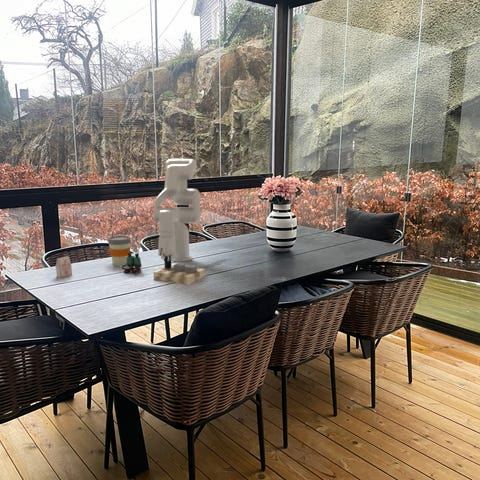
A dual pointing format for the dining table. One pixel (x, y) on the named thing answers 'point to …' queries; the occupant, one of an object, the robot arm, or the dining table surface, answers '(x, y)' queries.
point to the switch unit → (179, 276)
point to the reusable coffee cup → (119, 249)
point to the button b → (179, 267)
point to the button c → (191, 269)
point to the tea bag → (63, 267)
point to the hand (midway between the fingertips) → (168, 267)
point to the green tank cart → (132, 264)
